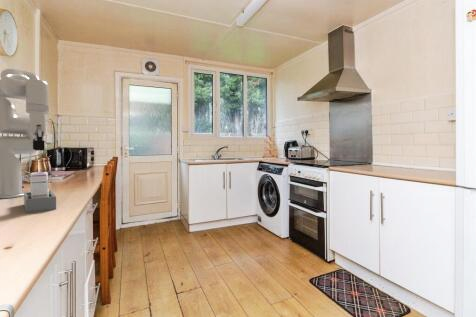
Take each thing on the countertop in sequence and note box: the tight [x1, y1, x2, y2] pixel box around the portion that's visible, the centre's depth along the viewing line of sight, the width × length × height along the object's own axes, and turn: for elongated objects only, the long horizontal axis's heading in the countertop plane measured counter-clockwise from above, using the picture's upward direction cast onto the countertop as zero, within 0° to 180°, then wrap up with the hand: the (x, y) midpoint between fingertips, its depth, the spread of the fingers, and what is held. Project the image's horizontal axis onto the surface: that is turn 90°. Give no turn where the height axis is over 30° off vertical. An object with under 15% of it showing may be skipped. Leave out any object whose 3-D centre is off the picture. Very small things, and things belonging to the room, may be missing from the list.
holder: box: [23, 189, 57, 214], centre depth 111 cm, size 19×10×6 cm, turn 42°
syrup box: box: [29, 171, 49, 199], centre depth 108 cm, size 6×6×14 cm
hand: (38, 149), depth 107 cm, fingers open, 9 cm apart
